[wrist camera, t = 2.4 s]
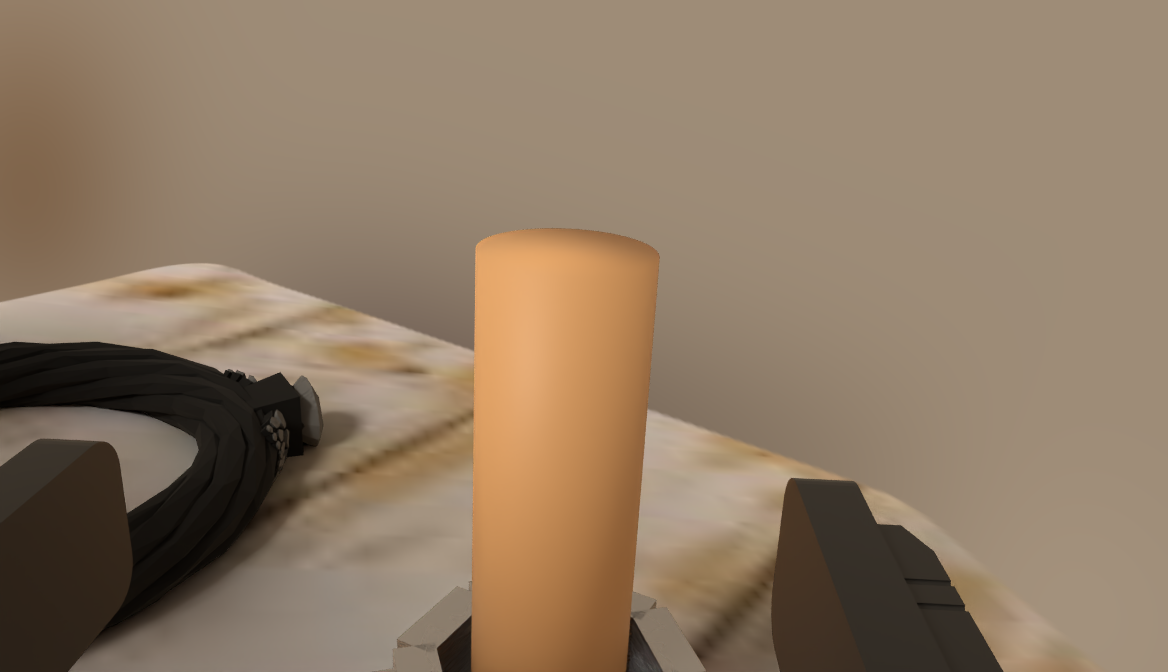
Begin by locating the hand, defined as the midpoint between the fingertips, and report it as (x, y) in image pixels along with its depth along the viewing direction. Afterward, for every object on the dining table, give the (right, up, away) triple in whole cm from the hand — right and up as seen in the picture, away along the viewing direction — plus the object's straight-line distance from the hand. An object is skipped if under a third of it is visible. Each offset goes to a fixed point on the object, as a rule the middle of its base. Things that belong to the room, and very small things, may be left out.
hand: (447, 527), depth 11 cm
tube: (0, -11, +17) cm, 20 cm away
